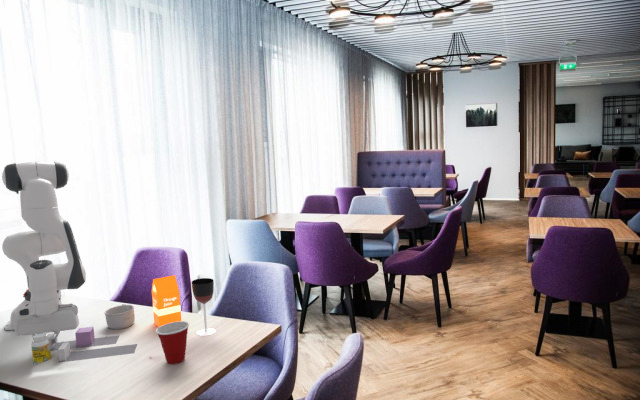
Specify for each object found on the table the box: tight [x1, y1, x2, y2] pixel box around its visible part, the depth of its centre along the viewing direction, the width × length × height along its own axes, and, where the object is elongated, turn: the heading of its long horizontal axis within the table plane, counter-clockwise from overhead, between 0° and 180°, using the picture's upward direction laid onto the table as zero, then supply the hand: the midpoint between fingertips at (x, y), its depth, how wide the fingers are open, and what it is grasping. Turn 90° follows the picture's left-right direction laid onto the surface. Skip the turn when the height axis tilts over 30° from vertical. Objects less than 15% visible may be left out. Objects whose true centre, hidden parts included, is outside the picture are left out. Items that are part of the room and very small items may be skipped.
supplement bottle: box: [30, 333, 52, 366], centre depth 167 cm, size 5×5×10 cm
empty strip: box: [57, 341, 138, 363], centre depth 170 cm, size 24×8×5 cm, turn 103°
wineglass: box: [191, 277, 217, 337], centre depth 188 cm, size 8×9×20 cm
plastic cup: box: [155, 320, 190, 365], centre depth 164 cm, size 11×11×12 cm
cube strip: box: [46, 332, 120, 352], centre depth 179 cm, size 24×8×5 cm, turn 103°
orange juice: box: [151, 274, 182, 328], centre depth 196 cm, size 8×9×20 cm
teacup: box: [104, 303, 136, 330], centre depth 198 cm, size 14×11×8 cm
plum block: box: [74, 326, 96, 347], centre depth 179 cm, size 5×5×5 cm
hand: (49, 343), depth 177 cm, fingers closed on cube strip, 2 cm apart
